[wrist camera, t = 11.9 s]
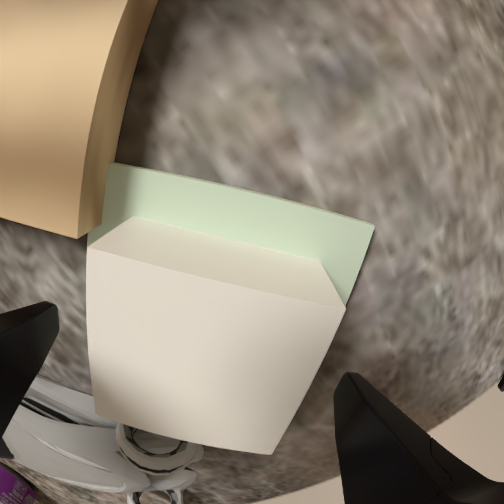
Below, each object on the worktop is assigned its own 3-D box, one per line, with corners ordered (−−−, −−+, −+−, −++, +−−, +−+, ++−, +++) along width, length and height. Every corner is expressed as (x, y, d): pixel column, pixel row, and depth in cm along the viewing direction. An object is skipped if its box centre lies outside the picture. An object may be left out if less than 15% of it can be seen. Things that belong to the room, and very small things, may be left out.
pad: (289, 414, 12) (290, 420, 12) (94, 369, 12) (91, 375, 11) (370, 223, 10) (375, 226, 9) (101, 160, 9) (95, 161, 8)
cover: (268, 395, 11) (271, 454, 9) (122, 361, 11) (96, 414, 8) (320, 261, 10) (345, 309, 7) (133, 216, 9) (87, 247, 6)
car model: (193, 494, 16) (185, 550, 12) (-53, 381, 14) (-79, 411, 10) (218, 407, 13) (208, 500, 8) (-89, 273, 11) (-129, 302, 6)
